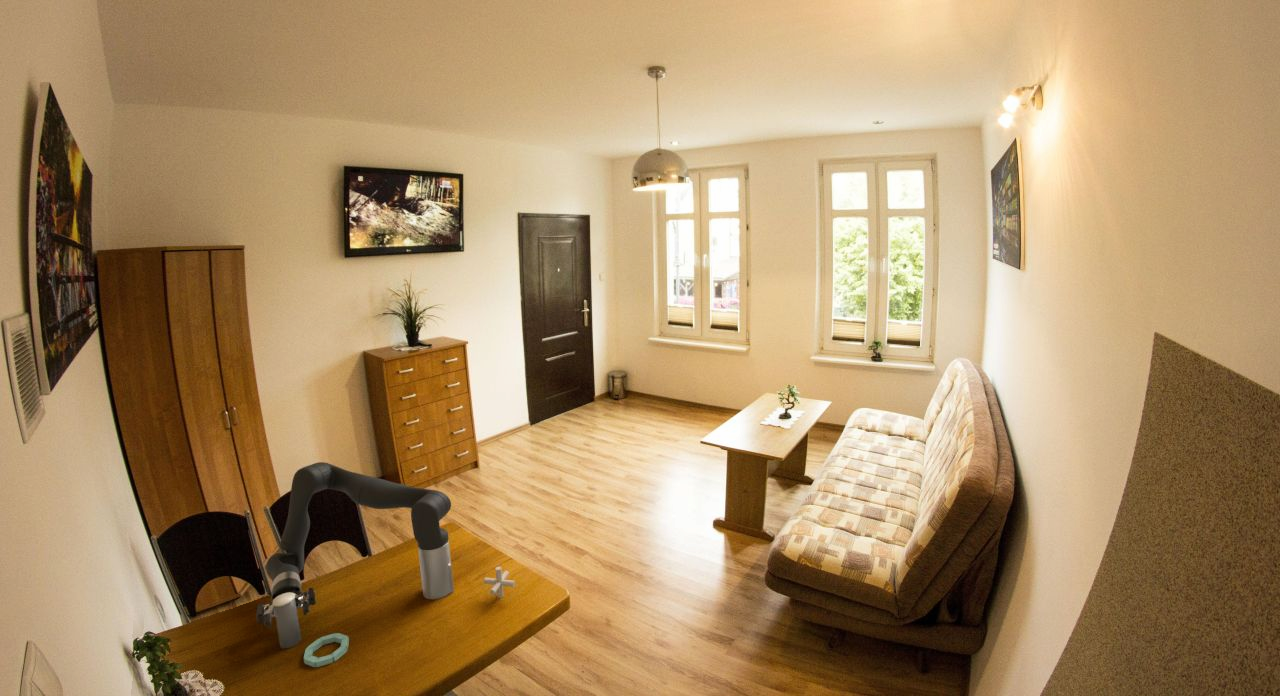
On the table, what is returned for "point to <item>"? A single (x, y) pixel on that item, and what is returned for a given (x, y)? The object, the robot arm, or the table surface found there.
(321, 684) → the table surface
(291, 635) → the cap cylinder
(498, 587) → the pipe connector
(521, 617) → the table surface
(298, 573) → the robot arm
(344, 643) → the barrel ring
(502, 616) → the table surface
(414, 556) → the table surface
